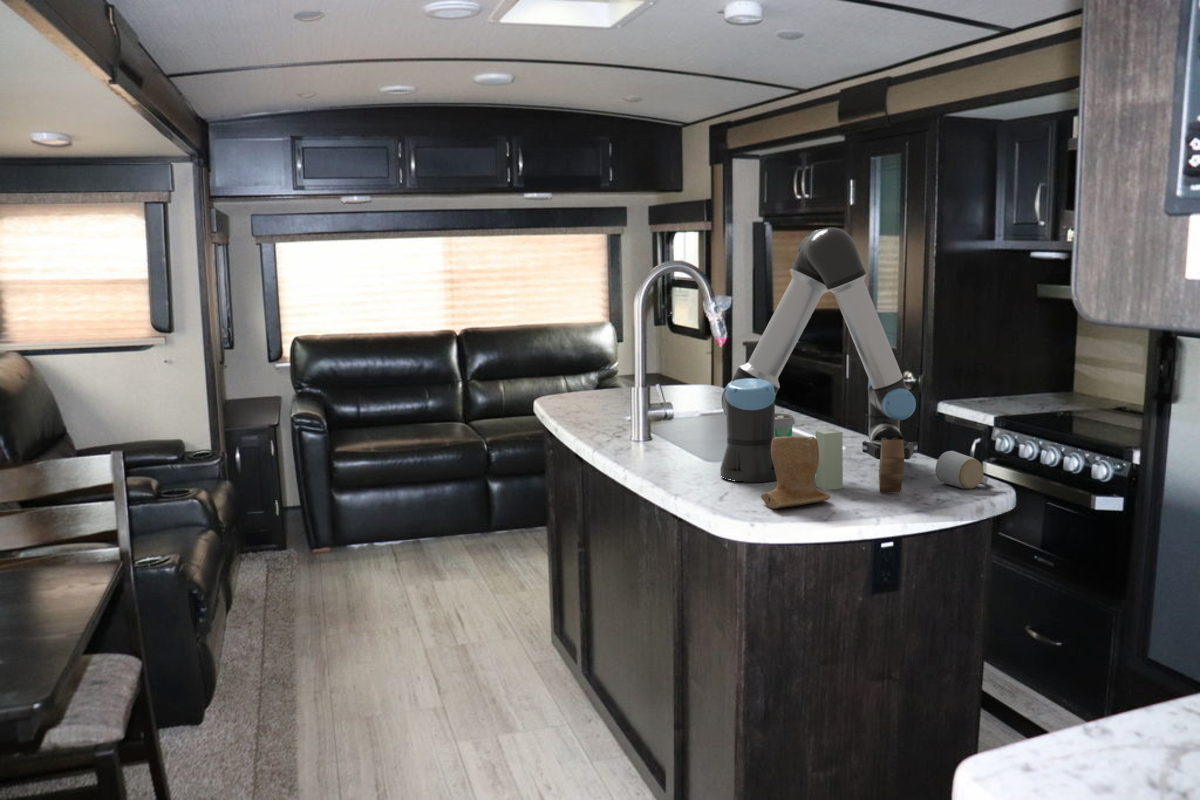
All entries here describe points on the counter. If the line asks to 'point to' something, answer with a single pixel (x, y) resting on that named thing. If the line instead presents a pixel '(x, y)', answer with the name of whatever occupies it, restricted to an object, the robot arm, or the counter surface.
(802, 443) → the cork flared stand
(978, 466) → the ceramic mug
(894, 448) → the walnut block
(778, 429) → the food container
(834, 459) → the sage block
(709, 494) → the counter surface
